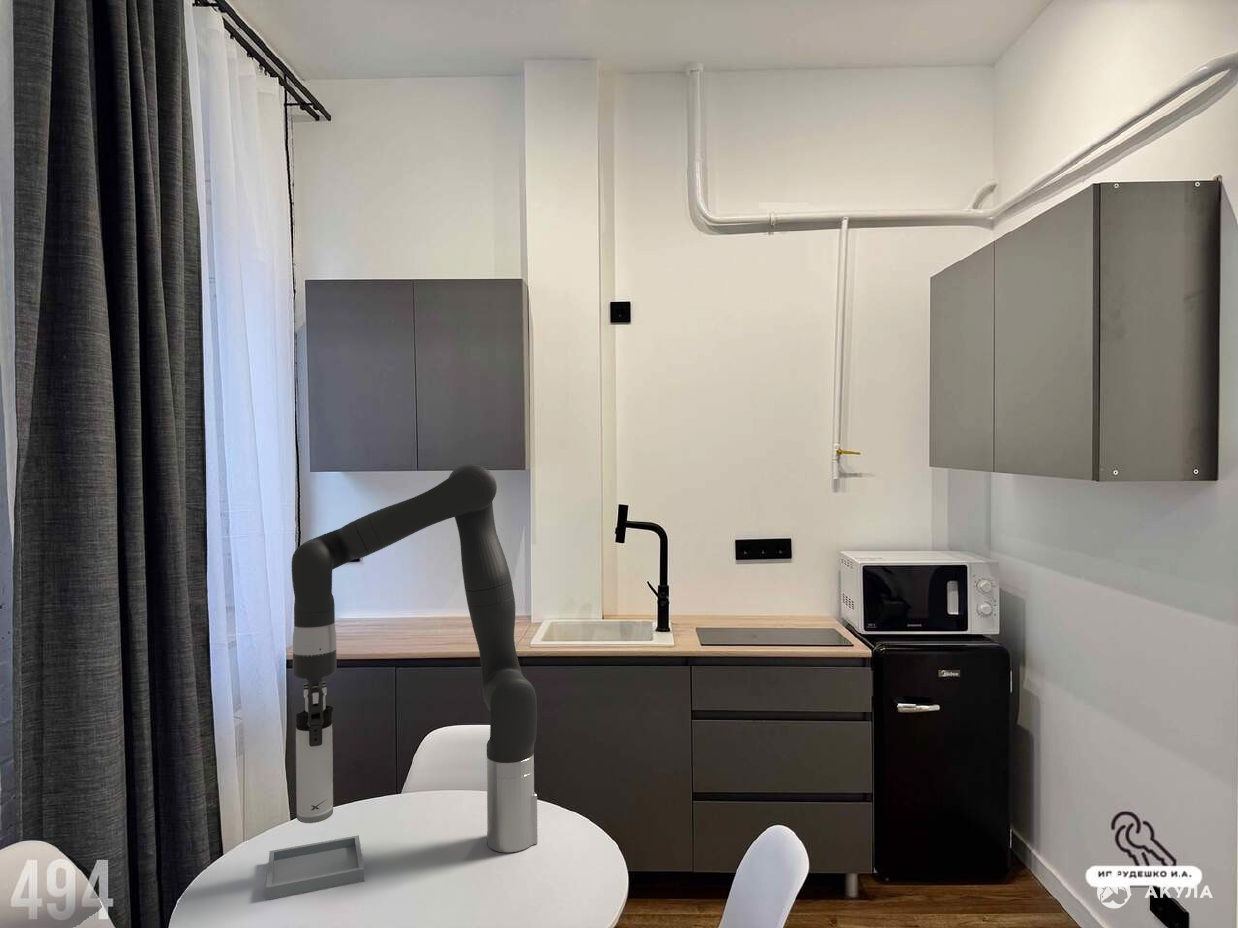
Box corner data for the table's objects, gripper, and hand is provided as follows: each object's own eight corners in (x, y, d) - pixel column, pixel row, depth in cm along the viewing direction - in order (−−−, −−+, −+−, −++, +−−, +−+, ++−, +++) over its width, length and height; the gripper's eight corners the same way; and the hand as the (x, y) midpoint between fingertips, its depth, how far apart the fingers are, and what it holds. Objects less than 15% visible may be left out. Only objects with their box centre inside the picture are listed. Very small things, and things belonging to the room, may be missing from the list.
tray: (358, 846, 153) (358, 835, 153) (364, 880, 140) (363, 868, 140) (269, 862, 147) (269, 850, 147) (266, 900, 134) (266, 887, 134)
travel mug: (322, 825, 140) (321, 713, 140) (289, 822, 142) (288, 711, 142) (341, 809, 146) (340, 703, 146) (309, 807, 148) (308, 701, 148)
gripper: (337, 655, 139) (338, 749, 139) (334, 638, 152) (335, 725, 152) (292, 659, 136) (292, 755, 136) (293, 642, 149) (293, 730, 149)
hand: (315, 739), depth 144 cm, fingers closed on travel mug, 6 cm apart
